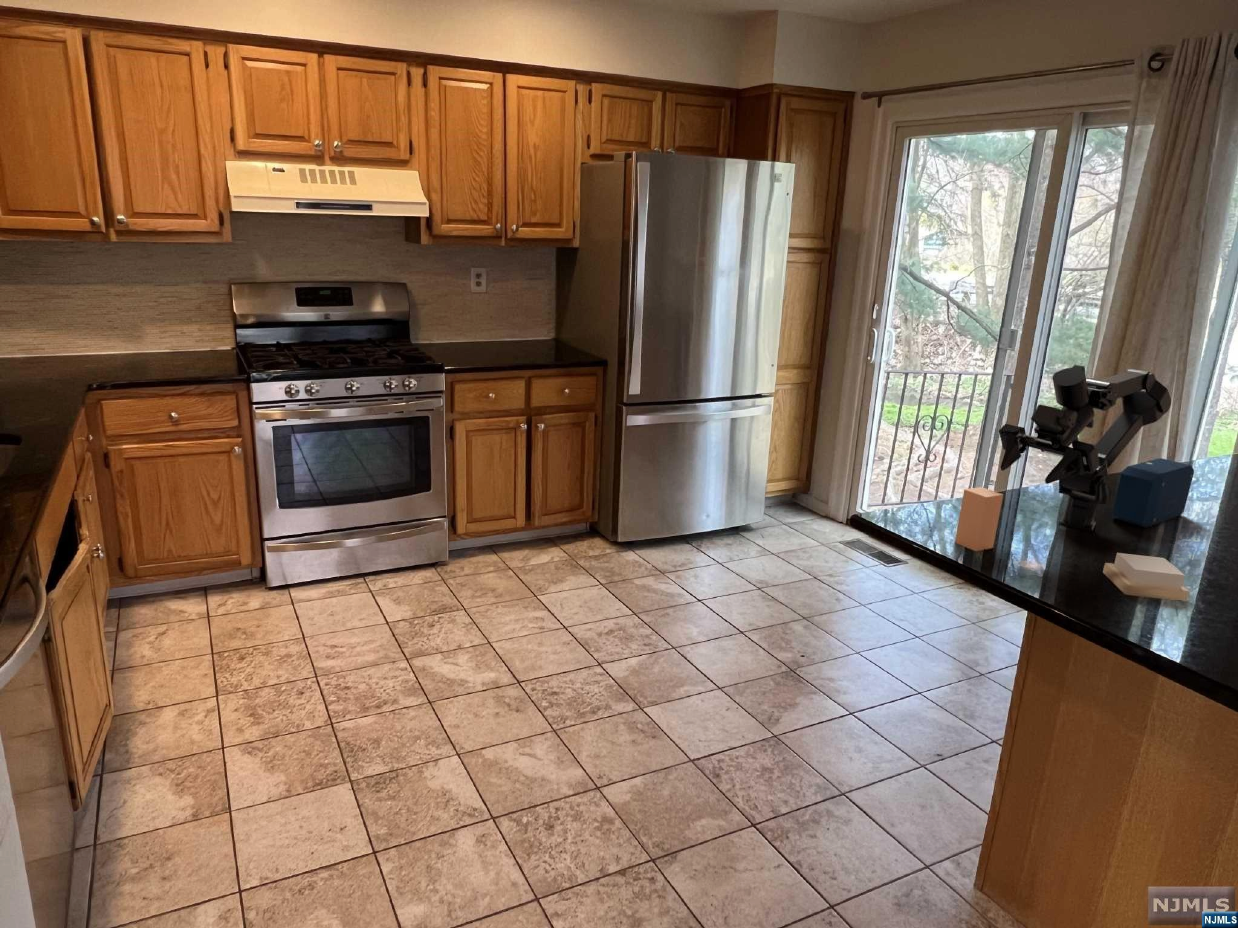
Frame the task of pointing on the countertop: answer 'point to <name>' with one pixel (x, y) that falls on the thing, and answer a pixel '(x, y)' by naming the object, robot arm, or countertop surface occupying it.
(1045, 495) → the countertop surface
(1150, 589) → the tower base
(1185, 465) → the navy rounded box
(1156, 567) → the tower top
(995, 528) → the pillar block
